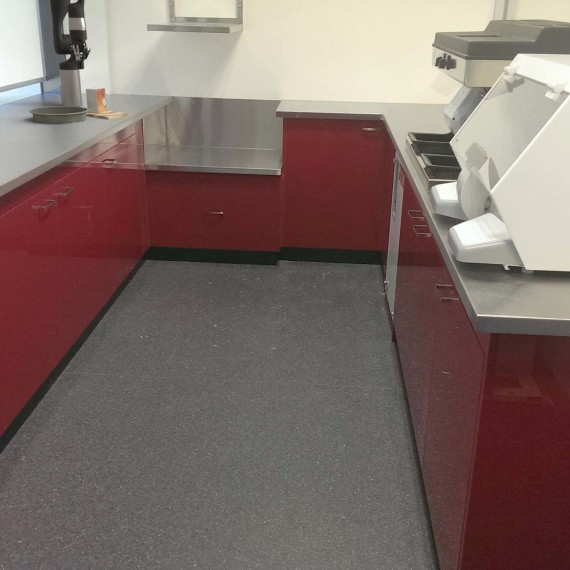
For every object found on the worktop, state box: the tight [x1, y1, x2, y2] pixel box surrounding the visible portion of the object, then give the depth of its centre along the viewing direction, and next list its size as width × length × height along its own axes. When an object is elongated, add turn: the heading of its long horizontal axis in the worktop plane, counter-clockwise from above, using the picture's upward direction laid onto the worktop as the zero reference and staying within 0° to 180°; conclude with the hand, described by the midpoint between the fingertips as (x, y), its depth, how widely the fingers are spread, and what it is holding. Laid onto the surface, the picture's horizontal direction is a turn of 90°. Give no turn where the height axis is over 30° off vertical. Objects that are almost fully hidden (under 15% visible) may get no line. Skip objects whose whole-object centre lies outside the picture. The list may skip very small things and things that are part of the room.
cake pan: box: [28, 105, 89, 124], centre depth 294 cm, size 25×25×4 cm
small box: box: [85, 86, 108, 113], centre depth 309 cm, size 8×6×10 cm
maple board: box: [86, 110, 132, 120], centre depth 308 cm, size 20×13×1 cm, turn 55°
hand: (81, 69), depth 309 cm, fingers closed
